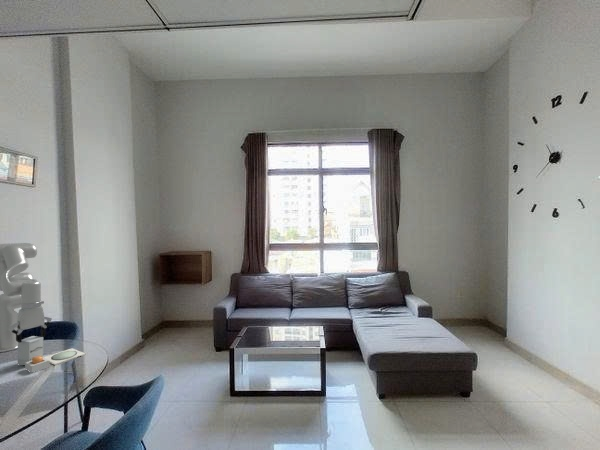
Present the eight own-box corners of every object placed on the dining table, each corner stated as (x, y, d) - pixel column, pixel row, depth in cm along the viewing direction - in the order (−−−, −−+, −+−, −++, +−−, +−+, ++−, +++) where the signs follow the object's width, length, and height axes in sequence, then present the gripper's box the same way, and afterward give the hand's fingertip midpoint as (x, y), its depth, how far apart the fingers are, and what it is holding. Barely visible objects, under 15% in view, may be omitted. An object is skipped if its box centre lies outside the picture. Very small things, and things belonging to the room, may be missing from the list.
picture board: (42, 359, 162) (42, 357, 162) (72, 349, 174) (72, 347, 174) (55, 365, 155) (55, 363, 155) (85, 355, 167) (85, 353, 167)
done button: (30, 364, 151) (30, 358, 151) (40, 360, 154) (40, 355, 154) (34, 366, 149) (34, 360, 149) (44, 362, 152) (44, 356, 152)
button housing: (25, 369, 150) (25, 362, 150) (42, 363, 156) (42, 357, 156) (31, 373, 147) (31, 366, 147) (49, 367, 153) (49, 360, 153)
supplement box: (28, 367, 153) (28, 342, 153) (17, 365, 154) (17, 340, 154) (43, 360, 160) (43, 336, 160) (32, 359, 162) (32, 335, 161)
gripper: (47, 301, 166) (47, 332, 166) (5, 308, 151) (6, 343, 151) (54, 302, 163) (54, 334, 163) (12, 310, 147) (12, 346, 147)
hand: (31, 338), depth 157 cm, fingers open, 9 cm apart
